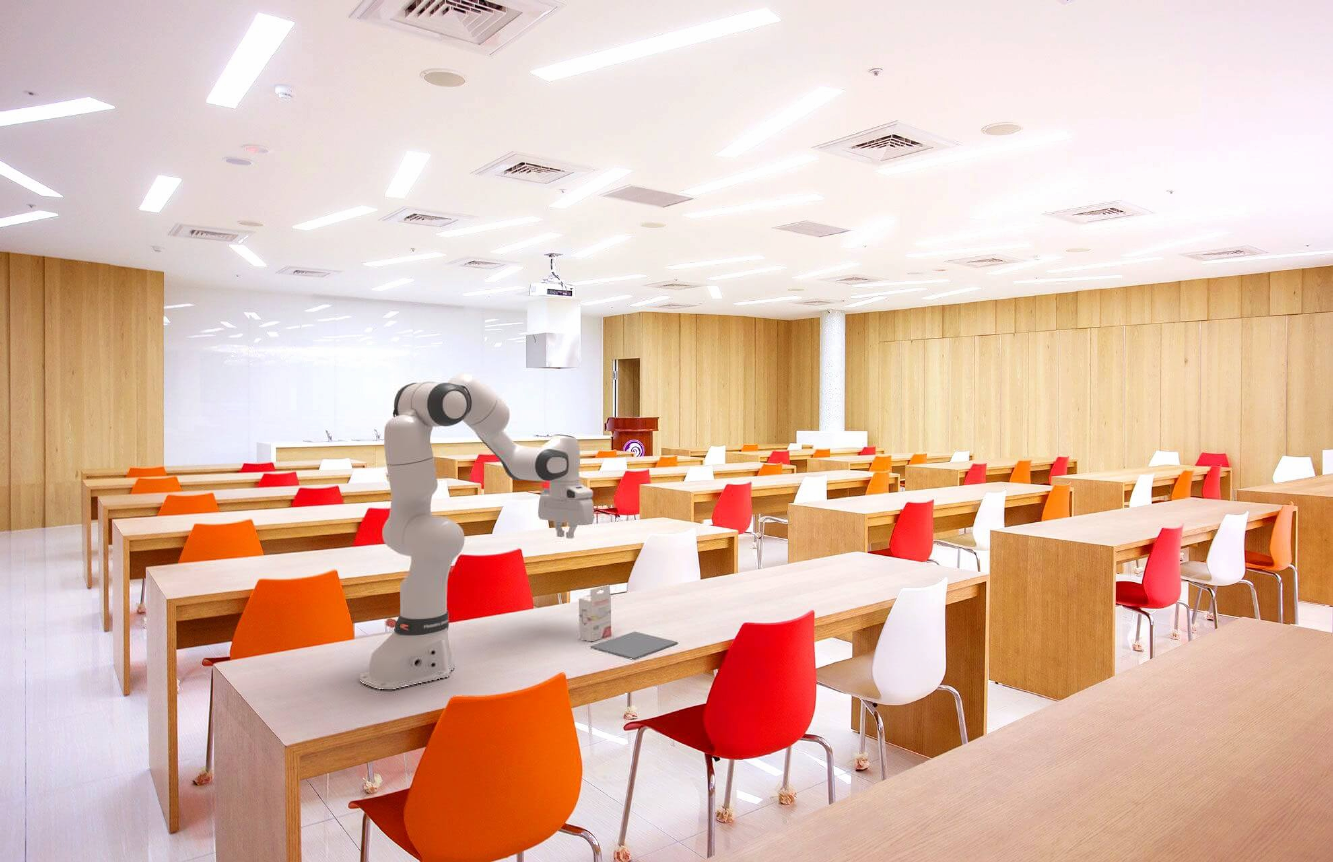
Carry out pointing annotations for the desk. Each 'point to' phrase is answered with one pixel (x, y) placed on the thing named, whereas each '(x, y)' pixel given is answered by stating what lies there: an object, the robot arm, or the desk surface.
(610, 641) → the rubber mat
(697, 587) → the desk surface
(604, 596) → the ink cartridge box
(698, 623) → the desk surface
